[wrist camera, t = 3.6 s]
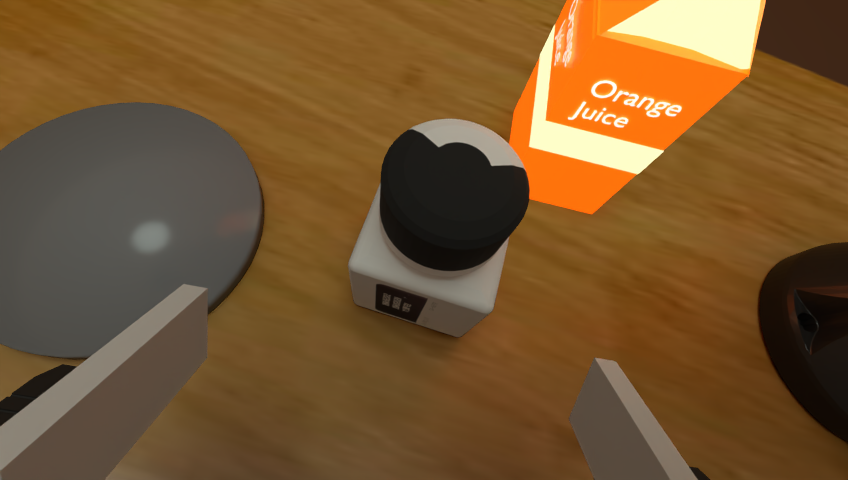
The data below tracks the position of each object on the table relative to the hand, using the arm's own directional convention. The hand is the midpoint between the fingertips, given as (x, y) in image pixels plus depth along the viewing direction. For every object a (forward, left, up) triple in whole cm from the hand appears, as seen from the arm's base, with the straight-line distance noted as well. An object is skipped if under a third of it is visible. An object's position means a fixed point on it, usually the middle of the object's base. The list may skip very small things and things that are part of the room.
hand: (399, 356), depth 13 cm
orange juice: (-21, -7, -13) cm, 26 cm away
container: (-6, -5, -13) cm, 15 cm away
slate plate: (+9, -19, -13) cm, 24 cm away
